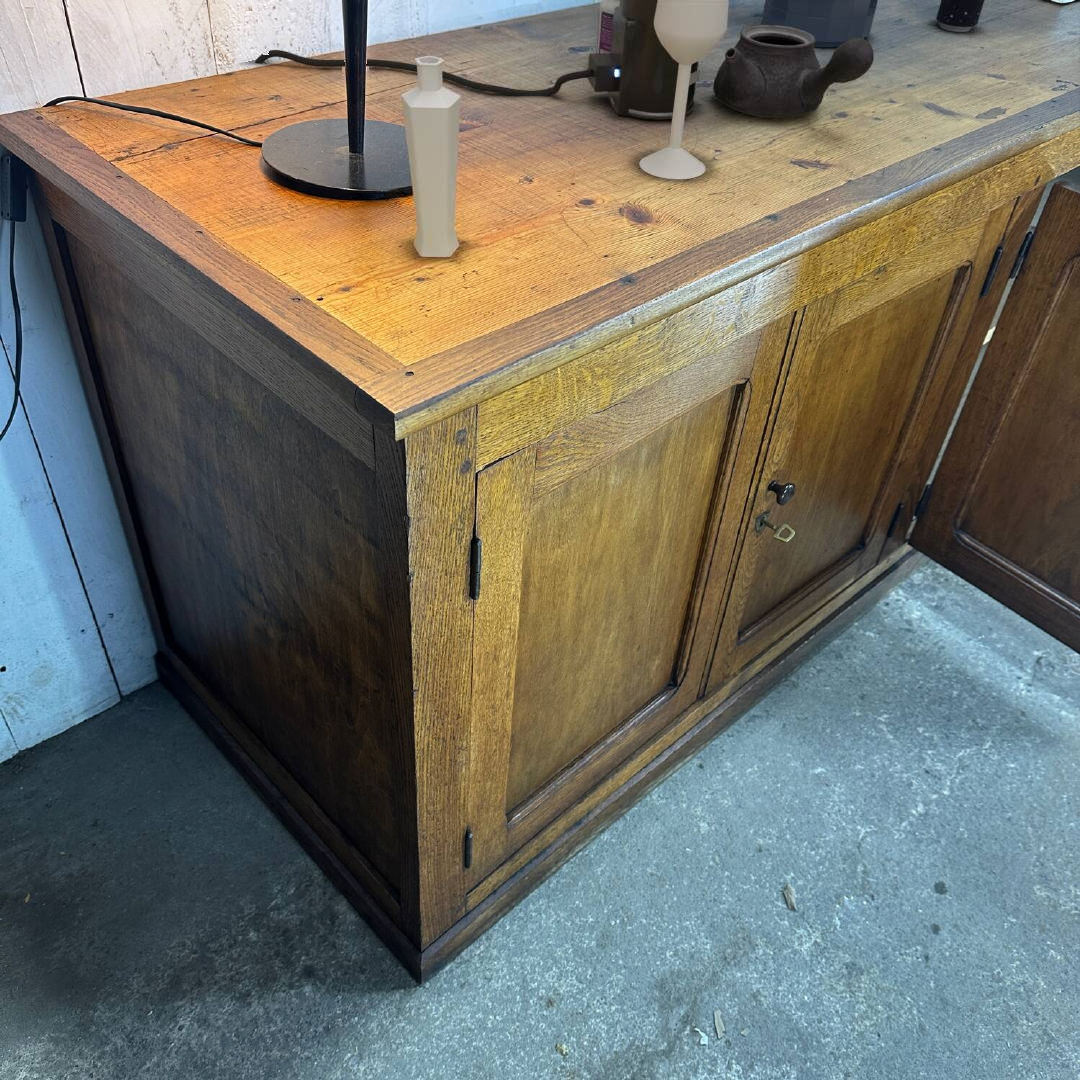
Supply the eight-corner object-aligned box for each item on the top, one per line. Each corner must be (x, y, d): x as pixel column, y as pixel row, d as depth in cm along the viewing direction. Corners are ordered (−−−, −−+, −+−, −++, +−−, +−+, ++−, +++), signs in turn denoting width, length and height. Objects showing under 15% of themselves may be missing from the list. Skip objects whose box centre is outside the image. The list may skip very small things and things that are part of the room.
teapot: (672, 109, 112) (684, 12, 105) (752, 81, 120) (768, -11, 113) (813, 159, 102) (836, 56, 95) (890, 125, 110) (916, 28, 104)
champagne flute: (625, 165, 99) (652, -119, 83) (665, 148, 103) (698, -127, 87) (680, 185, 96) (719, -107, 80) (718, 166, 100) (763, -116, 83)
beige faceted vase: (463, 235, 86) (460, 51, 76) (462, 259, 83) (459, 69, 73) (410, 235, 86) (400, 49, 76) (407, 258, 82) (396, 67, 72)
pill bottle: (645, 72, 121) (654, -16, 114) (606, 76, 119) (613, -13, 113) (626, 59, 125) (634, -27, 118) (588, 62, 123) (594, -25, 116)
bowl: (781, 49, 130) (791, -6, 126) (747, 18, 141) (755, -34, 136) (884, 48, 132) (898, -6, 128) (843, 17, 143) (854, -34, 138)
